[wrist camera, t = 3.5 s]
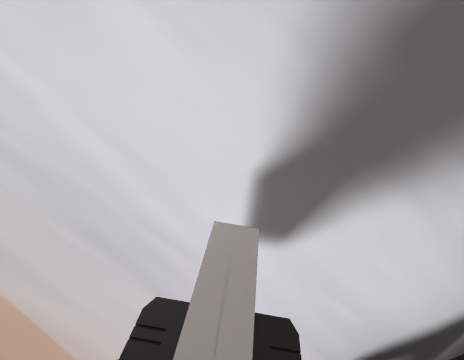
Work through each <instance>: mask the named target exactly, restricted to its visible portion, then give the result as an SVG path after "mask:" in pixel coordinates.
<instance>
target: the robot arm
mask: <svg viewBox="0 0 464 360" xmlns="http://www.w3.org/2000/svg"><path fill="white" fill-rule="evenodd" d="M258 237H259V229H258V228H252V227H246V226H240V225H234V224H228V223H222V222H216V221H214V225H213V228H212V231H211V235H210V238H209V241H208V245H207V248H206V251H205V255H204V258H203V261H202V265H201V268H200V271H199V275H198V278H197V281H196V285H195V288H194V291H193V295H192V298H191V301H190V303H189V302H183V301H178V300H172V299H166V298H161V297H156V298H155V299H154V300H152V301H151V302H150V303H149V304H148V305H146V306H145V307H144V308H143V309H142V312H141V314H140V316H139V318H138V320H137V322H136V325H135V327H134V329H133V331H132V333H131V335H130V338H129V340H128V341H127V343H126V345H125V348H124V350H123V352H122V354H121V356H120V358H119V360H301V355H300V352H301V351H300V341H299V334H298V332H297V331H296V329H295V327H294V326H293V324H292V322H291V321H290V319H288V318H282V317H276V316H270V315H265V314H259V313H255V296H256V276H257V257H258Z"/></svg>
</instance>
